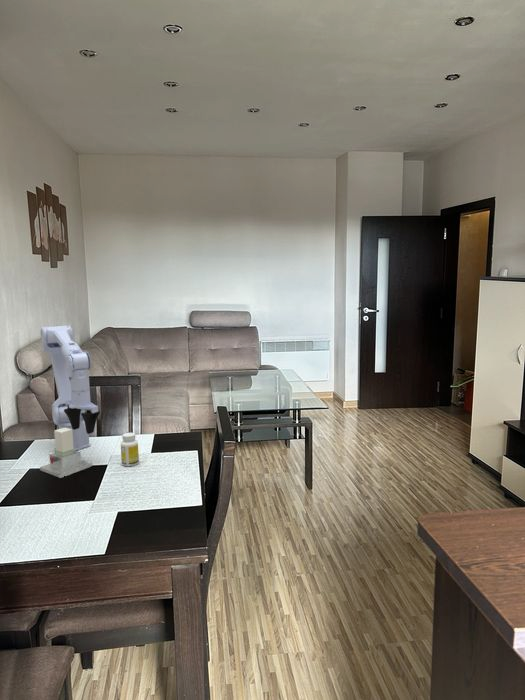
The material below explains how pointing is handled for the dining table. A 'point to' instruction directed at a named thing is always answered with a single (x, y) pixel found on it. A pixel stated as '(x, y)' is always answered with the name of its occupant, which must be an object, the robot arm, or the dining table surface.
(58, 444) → the rectangular block
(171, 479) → the dining table surface
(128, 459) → the supplement bottle
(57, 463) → the stand
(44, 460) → the dining table surface
